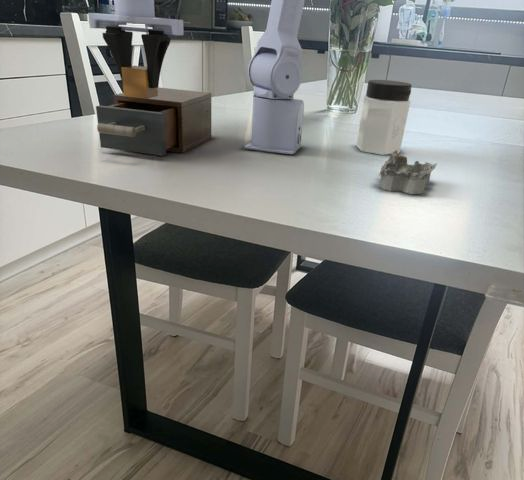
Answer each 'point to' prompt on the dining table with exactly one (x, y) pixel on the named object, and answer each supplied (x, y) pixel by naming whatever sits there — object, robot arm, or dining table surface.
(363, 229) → the dining table surface
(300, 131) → the robot arm
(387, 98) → the jar
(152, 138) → the drawer
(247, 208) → the dining table surface
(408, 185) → the egg carton
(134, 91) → the block
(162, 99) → the cabinet
